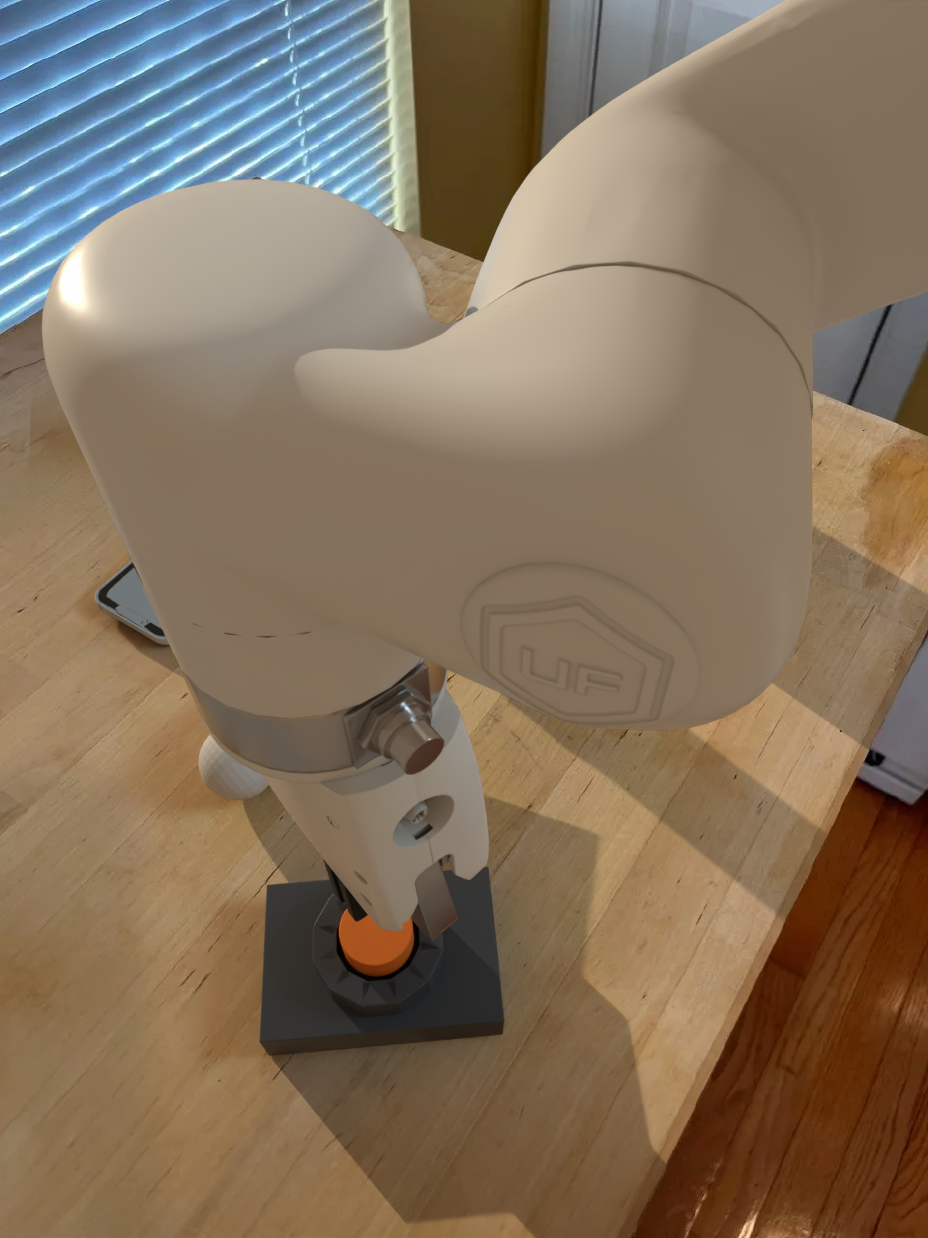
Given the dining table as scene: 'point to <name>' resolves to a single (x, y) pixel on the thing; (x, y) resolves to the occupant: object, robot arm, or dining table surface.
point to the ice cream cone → (228, 774)
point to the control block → (384, 1005)
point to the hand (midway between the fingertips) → (375, 887)
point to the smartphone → (130, 603)
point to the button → (374, 945)
